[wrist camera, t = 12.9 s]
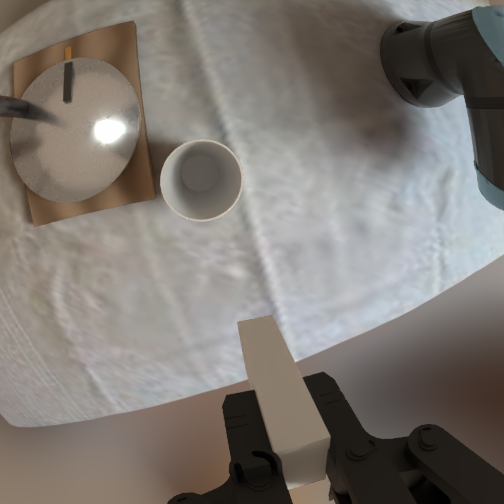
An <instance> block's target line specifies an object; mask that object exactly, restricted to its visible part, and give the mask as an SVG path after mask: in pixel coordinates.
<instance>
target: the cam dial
mask: <svg viewBox="0 0 504 504" xmlns="http://www.w3.org/2000/svg"><path fill="white" fill-rule="evenodd" d="M0 117H11V118H13V120H12V124H11V132H10V147H11V154H12V159H13V162H14V165H15V168H16V170H17V172H18V174H19V176H20V177H21V179H22V180H23V182H24V183H25V184H26V185H27V186H28V187H29V188H30V189H31V190H32V191H33V192H34V193H36V194H37V195H39V196H41V197H42V198H45V199H47V200H50V201H54V202H60V203H72V202H78V201H82V200H85V199H88V198H90V197H92V196H94V195H96V194H98V193H100V192H102V191H103V190H105V189H106V188H108V187H109V186H110V185H111V184H113V183H114V182H115V181H116V180H117V179H118V178H119V177H120V176H121V175H122V173H123V172H124V171H125V169H126V168H127V166H128V165H129V163H130V161H131V160H132V158H133V156H134V153H135V151H136V149H137V146H138V142H139V139H140V133H141V121H142V118H141V108H140V104H139V100H138V97H137V94H136V92H135V90H134V88H133V86H132V85H131V83H130V82H129V81H128V79H127V78H126V77H125V76H124V75H123V74H122V73H121V72H120V71H119V70H118V69H116V68H115V67H113V66H112V65H110V64H108V63H106V62H104V61H102V60H98V59H94V58H74V59H69V60H66V61H63V62H60V63H58V64H56V65H54V66H52V67H50V68H49V69H47V70H46V71H44V72H43V73H42V74H41V75H39V76H38V77H37V78H36V79H35V80H34V81H33V82H32V83H31V84H30V86H29V87H28V88H27V90H26V91H25V93H24V94H23V96H22V97H21V99H18V98H13V97H7V96H2V95H0Z"/></svg>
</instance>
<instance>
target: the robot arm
mask: <svg viewBox="0 0 504 504" xmlns="http://www.w3.org/2000/svg"><path fill="white" fill-rule="evenodd" d="M381 59H382V64H383V67H384V70H385V73H386V75H387V77H388V79H389V81H390V82H391V84H392V85H393V87H394V88H395V90H396V91H397V92H398V93H399V94H400V95H401V96H402V97H403V98H404V99H405V100H407V101H408V102H410V103H411V104H413V105H415V106H418V107H423V108H431V107H439V106H442V105H444V104H446V103H448V102H449V101H451V100H453V99H455V98H456V97H458V96H460V95H464V98H465V103H466V108H467V113H468V118H469V124H470V130H471V136H472V143H473V151H474V167H475V169H476V172H477V180H478V187H479V190H480V192H481V194H482V195H483V196H484V197H485V199H486V200H487V201H488V202H489V203H491V204H492V205H494V206H495V207H497V208H499V209H501V210H503V211H504V6H502V5H492V6H486V7H480V6H479V7H475V8H474V9H472V10H468V11H465V12H462V13H459V14H455V15H452V16H449V17H446V18H443V19H440V20H437V21H434V22H424V21H404V22H401V23H398V24H396V25H394V26H392V27H390V28H389V29H388V30H387V31H386V32H385V34H384V36H383V38H382V42H381ZM237 324H238V330H239V335H240V341H241V346H242V352H243V357H244V363H245V368H246V372H247V376H248V380H249V384H250V387H251V390H250V391H245V392H240V393H235V394H230V395H226V398H225V400H224V403H223V406H222V409H223V414H224V420H225V427H226V433H227V439H228V444H229V450H230V455H231V462H230V464H229V474H230V477H229V479H228V480H227V481H226V482H225V483H224V484H223V485H221V486H220V487H218V488H216V489H214V490H212V491H209V492H207V493H205V494H202V495H199V494H196V493H182V494H179V495H176V496H174V497H173V498H172V499H171V500H169V501H168V503H167V504H293V503H292V500H291V497H290V494H289V491H288V489H292V488H296V487H300V486H303V485H307V484H310V483H314V482H317V481H320V480H324V479H325V477H326V474H327V476H328V478H329V480H330V483H331V486H330V491H329V500H330V501H331V500H333V499H334V501H335V503H336V504H504V475H503V474H502V473H501V472H499V471H498V470H497V469H495V468H494V467H493V466H491V465H490V464H489V463H487V462H486V461H485V460H483V459H482V458H481V457H479V456H478V455H477V454H475V453H474V452H473V451H471V450H470V449H469V448H468V447H466V446H465V445H464V444H462V443H461V442H460V441H458V440H457V439H456V438H454V437H453V436H452V435H451V434H449V433H448V432H447V431H445V430H444V429H443V428H441V427H439V426H437V425H432V424H426V425H421V426H419V427H417V428H415V429H414V430H413V431H412V433H411V434H410V435H409V436H408V437H401V438H394V439H380V438H376V437H373V436H371V435H370V434H368V433H367V432H366V431H365V430H364V428H363V427H362V425H361V424H360V422H359V420H358V419H357V417H356V415H355V414H354V412H353V410H352V408H351V407H350V405H349V403H348V402H347V400H346V399H345V397H344V395H343V393H342V392H341V391H340V388H339V387H338V385H337V383H336V381H335V380H334V379H333V378H332V377H330V376H329V375H327V374H326V373H324V372H321V373H317V374H313V375H310V376H306V377H303V378H302V377H301V374H300V372H299V370H298V368H297V366H296V364H295V362H294V359H293V357H292V355H291V353H290V351H289V349H288V347H287V345H286V343H285V341H284V338H283V336H282V334H281V332H280V330H279V328H278V326H277V324H276V322H275V320H274V317H273V315H269V316H264V317H259V318H254V319H249V320H244V321H239V322H237Z"/></svg>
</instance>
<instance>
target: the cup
mask: <svg viewBox="0 0 504 504" xmlns="http://www.w3.org/2000/svg"><path fill="white" fill-rule="evenodd" d="M160 186H161V191H162V195H163V197H164V199H165V201H166V203H167V204H168V206H169V207H170V208H171V209H172V210H173V211H174V212H175V213H176V214H178V215H179V216H181V217H183V218H185V219H188V220H192V221H199V222H203V221H210V220H214V219H217V218H219V217H221V216H223V215H224V214H226V213H227V212H228V211H230V210H231V209H232V208H233V206H234V205H235V204H236V202H237V201H238V199H239V197H240V195H241V192H242V188H243V171H242V167H241V164H240V162H239V160H238V158H237V157H236V155H235V154H234V153H233V152H232V151H231V150H230V149H229V148H228V147H226V146H225V145H223V144H221V143H219V142H216V141H213V140H207V139H198V140H193V141H189V142H186V143H184V144H182V145H181V146H179V147H178V148H176V149H175V150H174V151H173V152H172V153H171V154H170V155H169V156H168V158H167V159H166V161H165V163H164V165H163V168H162V171H161V177H160Z"/></svg>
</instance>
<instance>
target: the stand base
mask: <svg viewBox="0 0 504 504" xmlns="http://www.w3.org/2000/svg"><path fill="white" fill-rule="evenodd" d="M74 58H94V59H98V60H102V61H104V62H106V63H108V64H110V65H112V66H113V67H115V68H116V69H118V70H119V71H120V72H121V73H122V74H123V75H124V76H125V77H126V78H127V79H128V81H129V82H130V83H131V85H132V86H133V88H134V90H135V92H136V94H137V97H138V100H139V104H140V108H141V118H142V121H141V133H140V139H139V142H138V146H137V149H136V151H135V153H134V156H133V158H132V160H131V161H130V163H129V165H128V166H127V168H126V169H125V171H124V172H123V173H122V175H121V176H120V177H119V178H118V179H117V180H116V181H115V182H114V183H113V184H111V185H110V186H109V187H108V188H106V189H105V190H103V191H102V192H100V193H98V194H96V195H94V196H92V197H90V198H88V199H85V200H82V201H78V202H72V203H60V202H54V201H50V200H47V199H45V198H42V197H41V196H39V195H37V194H36V193H34V192H33V191H32V190H31V189H30V188H29V187H28V186H27V185H26V184H25V188H26V193H27V198H28V202H29V207H30V211H31V215H32V219H33V223H34V227H36V226H40V225H44V224H48V223H51V222H55V221H59V220H63V219H67V218H71V217H75V216H79V215H83V214H87V213H91V212H95V211H100V210H104V209H108V208H113V207H117V206H122V205H127V204H131V203H136V202H141V201H146V200H151V199H155V198H156V197H157V194H156V188H155V183H154V177H153V171H152V165H151V159H150V152H149V146H148V139H147V132H146V125H145V117H144V109H143V101H142V92H141V83H140V73H139V62H138V50H137V36H136V25H135V23H134V21H129V22H125V23H121V24H117V25H113V26H110V27H106V28H103V29H99V30H96V31H93V32H89V33H86V34H83V35H80V36H77V37H75V38H72V39H69V40H66V41H64V42H61V43H58V44H56V45H53V46H51V47H48V48H46V49H43V50H41V51H39V52H36V53H34V54H32V55H30V56H28V57H25V58H23V59H21V60H19V61H17V62H15V63H14V98H18V99H21V97H22V96H23V94H24V93H25V91H26V90H27V88H28V87H29V86H30V84H31V83H32V82H33V81H34V80H35V79H36V78H37V77H38V76H39V75H41V74H42V73H43V72H44V71H46V70H47V69H49V68H50V67H52V66H54V65H56V64H58V63H60V62H63V61H66V60H69V59H74Z"/></svg>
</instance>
